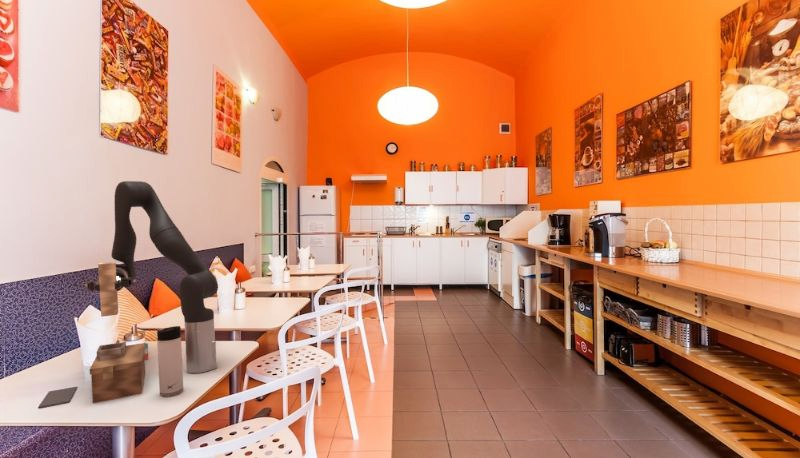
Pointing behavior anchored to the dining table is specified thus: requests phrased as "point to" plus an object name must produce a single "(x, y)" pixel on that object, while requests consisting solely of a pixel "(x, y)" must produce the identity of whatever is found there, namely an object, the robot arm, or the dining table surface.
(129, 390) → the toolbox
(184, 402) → the dining table surface
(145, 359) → the yogurt
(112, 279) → the wooden block
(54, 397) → the rubber mat
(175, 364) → the travel mug
